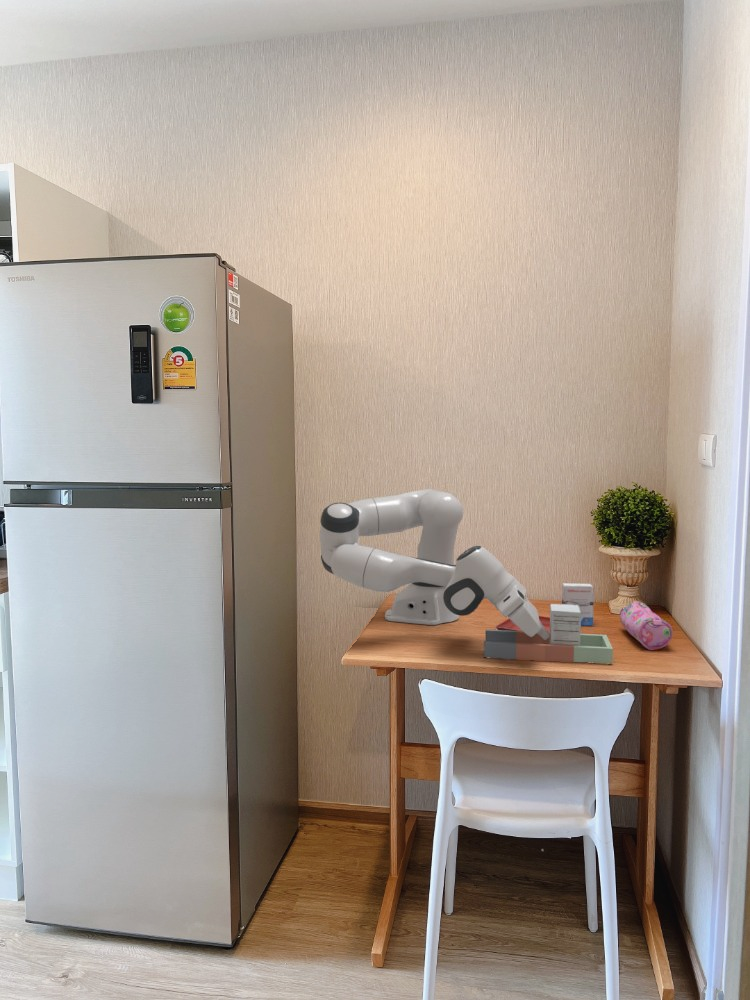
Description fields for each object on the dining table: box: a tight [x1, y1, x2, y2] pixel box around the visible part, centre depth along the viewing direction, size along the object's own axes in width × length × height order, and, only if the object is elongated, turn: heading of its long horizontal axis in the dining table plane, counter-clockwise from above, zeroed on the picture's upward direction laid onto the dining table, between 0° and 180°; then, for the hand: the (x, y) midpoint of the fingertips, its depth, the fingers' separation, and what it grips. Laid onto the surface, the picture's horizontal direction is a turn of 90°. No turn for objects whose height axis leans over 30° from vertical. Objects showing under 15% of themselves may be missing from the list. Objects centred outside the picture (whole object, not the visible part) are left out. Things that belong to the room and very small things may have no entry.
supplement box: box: [549, 603, 582, 646], centre depth 190 cm, size 7×7×13 cm
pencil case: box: [619, 600, 674, 651], centre depth 204 cm, size 21×9×9 cm, turn 175°
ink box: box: [561, 582, 595, 627], centre depth 221 cm, size 8×5×12 cm, turn 84°
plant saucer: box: [495, 615, 550, 632], centre depth 210 cm, size 18×18×3 cm
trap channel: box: [483, 629, 614, 664], centre depth 192 cm, size 31×12×4 cm, turn 80°
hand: (547, 637), depth 190 cm, fingers closed, pressing on supplement box
